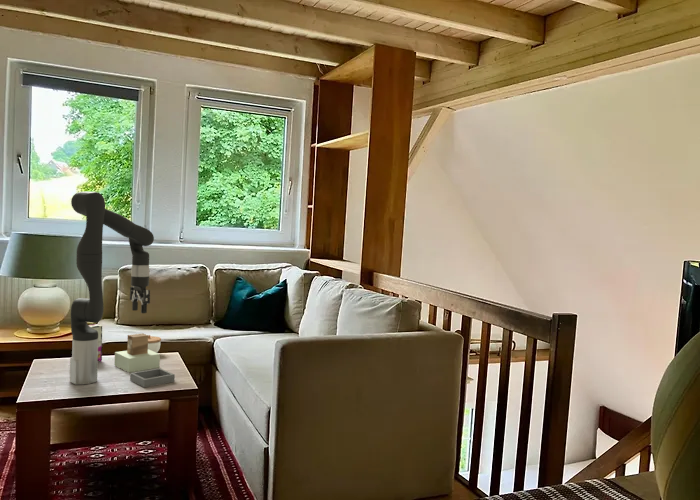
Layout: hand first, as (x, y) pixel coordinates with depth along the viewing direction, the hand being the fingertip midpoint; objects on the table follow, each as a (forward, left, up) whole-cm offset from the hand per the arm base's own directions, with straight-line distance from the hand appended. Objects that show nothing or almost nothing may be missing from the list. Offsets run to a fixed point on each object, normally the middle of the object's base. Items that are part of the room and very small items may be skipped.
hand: (139, 311), depth 249 cm
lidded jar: (+14, +17, -25) cm, 33 cm away
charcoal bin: (-5, -24, -24) cm, 35 cm away
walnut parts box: (0, 0, -18) cm, 18 cm away
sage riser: (0, 0, -24) cm, 24 cm away
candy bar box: (-14, +19, -25) cm, 34 cm away
